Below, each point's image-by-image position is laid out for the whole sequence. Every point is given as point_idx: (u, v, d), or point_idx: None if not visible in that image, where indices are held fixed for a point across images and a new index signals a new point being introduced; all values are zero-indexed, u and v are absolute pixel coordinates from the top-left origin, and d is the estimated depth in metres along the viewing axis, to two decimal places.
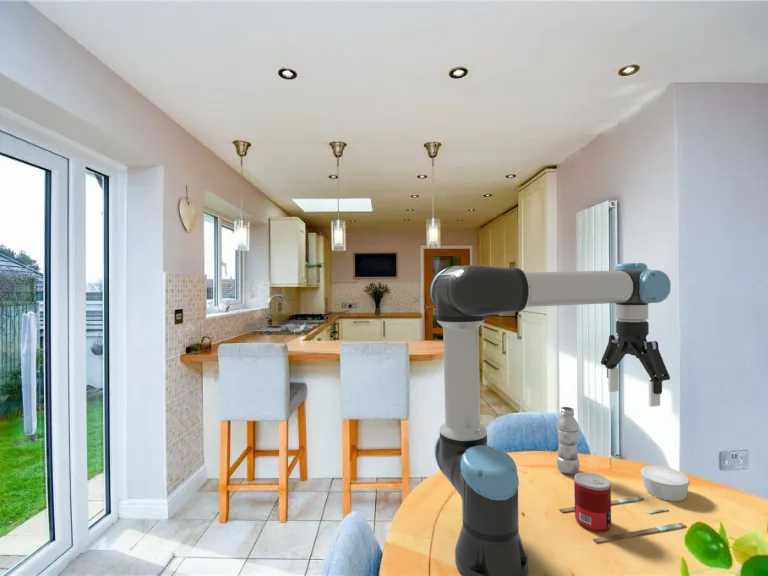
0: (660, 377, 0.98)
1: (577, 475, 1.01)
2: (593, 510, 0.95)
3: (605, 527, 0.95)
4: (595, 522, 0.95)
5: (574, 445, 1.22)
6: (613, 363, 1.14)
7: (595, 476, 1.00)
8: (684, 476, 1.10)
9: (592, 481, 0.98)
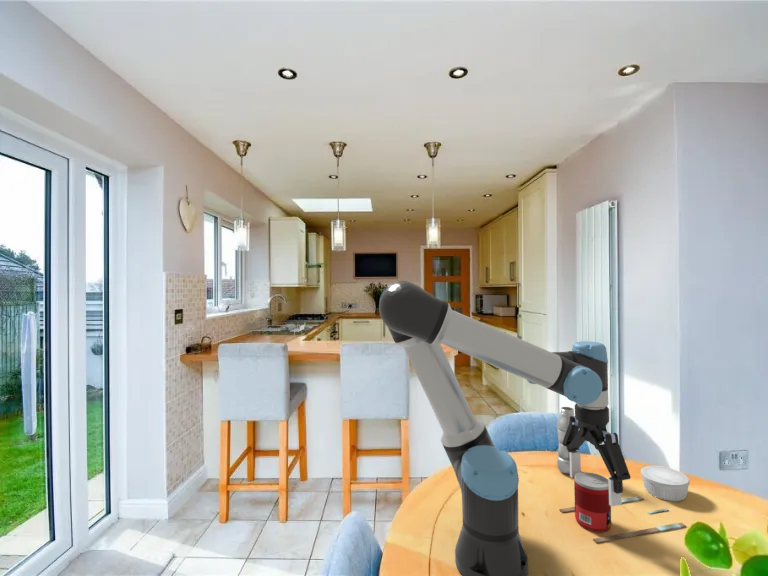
0: (619, 477, 0.89)
1: (577, 475, 1.01)
2: (593, 510, 0.95)
3: (605, 527, 0.95)
4: (595, 522, 0.95)
5: None
6: (574, 447, 1.04)
7: (595, 476, 1.00)
8: (684, 476, 1.10)
9: (592, 481, 0.98)
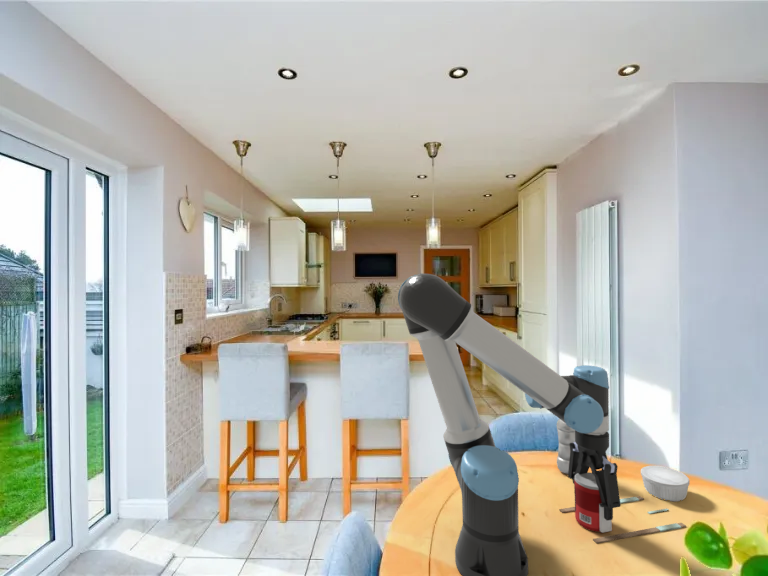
0: (610, 505, 0.91)
1: (577, 475, 1.01)
2: (593, 510, 0.95)
3: None
4: (595, 522, 0.95)
5: None
6: None
7: None
8: (684, 476, 1.10)
9: (592, 481, 0.98)
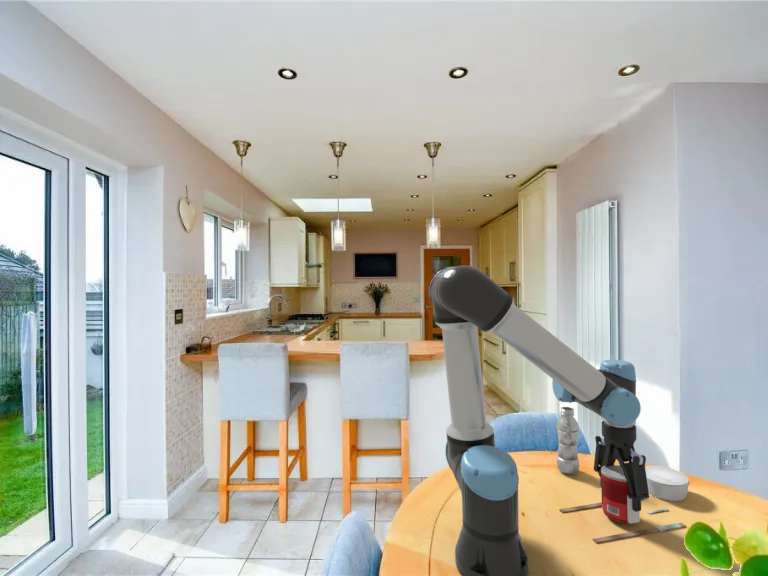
0: (639, 496, 0.93)
1: (604, 467, 1.02)
2: (621, 502, 0.97)
3: None
4: (623, 514, 0.97)
5: (574, 445, 1.22)
6: None
7: None
8: (684, 476, 1.10)
9: (619, 473, 1.00)
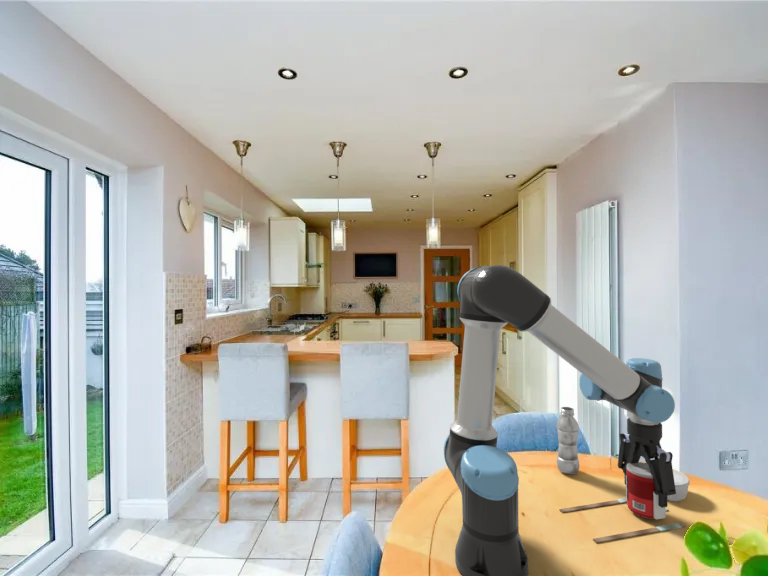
0: (666, 492, 0.94)
1: (629, 464, 1.04)
2: (647, 498, 0.98)
3: None
4: (649, 510, 0.98)
5: (574, 445, 1.22)
6: None
7: (646, 465, 1.04)
8: (684, 476, 1.10)
9: (645, 470, 1.01)
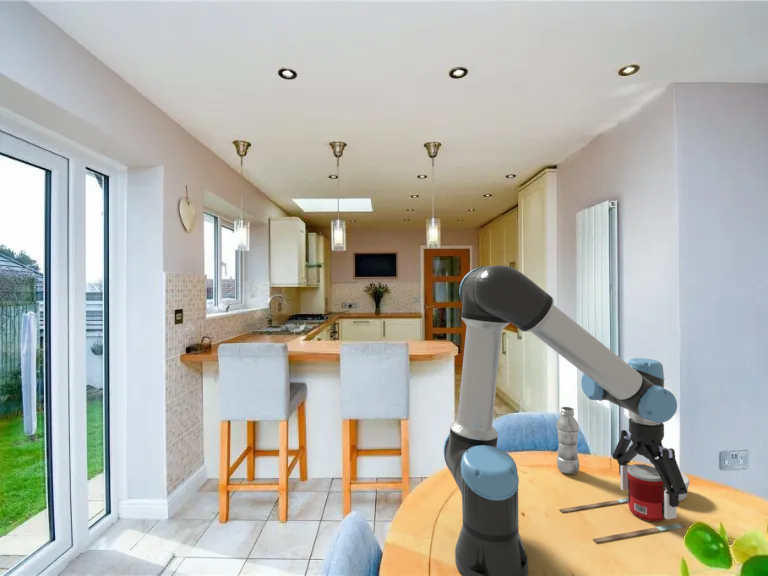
0: (677, 491, 0.92)
1: (630, 467, 1.04)
2: (649, 501, 0.98)
3: (661, 516, 0.98)
4: (651, 512, 0.98)
5: (574, 445, 1.22)
6: (626, 460, 1.07)
7: (647, 467, 1.03)
8: (684, 476, 1.10)
9: (646, 473, 1.01)
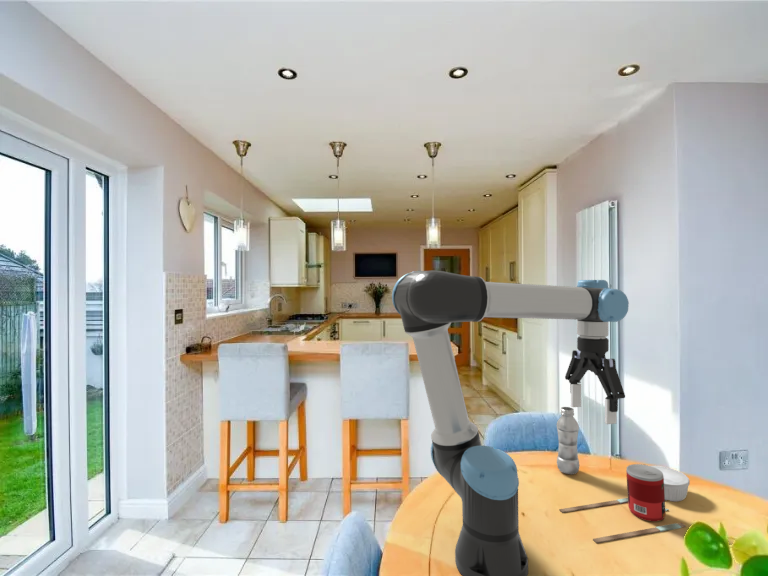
0: (615, 395, 0.98)
1: (629, 467, 1.04)
2: (648, 501, 0.98)
3: (661, 516, 0.98)
4: (650, 512, 0.98)
5: (574, 445, 1.22)
6: (576, 379, 1.13)
7: (646, 467, 1.04)
8: (684, 476, 1.10)
9: (644, 472, 1.01)
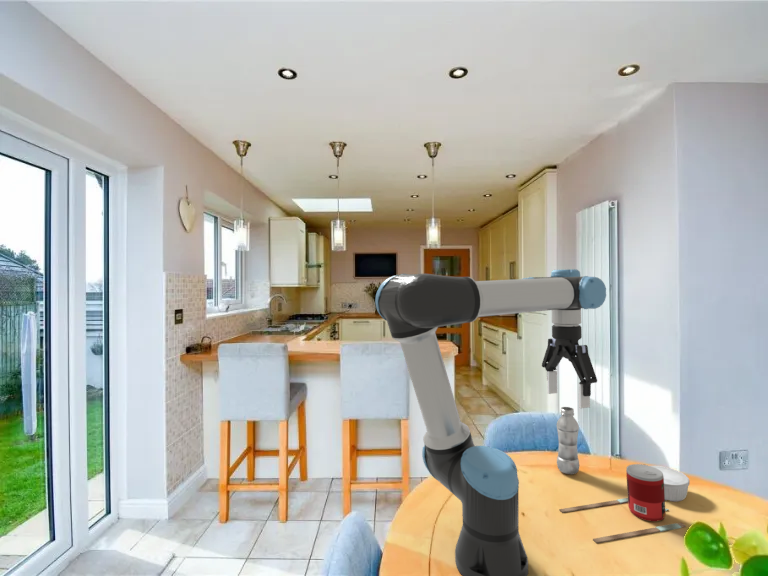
0: (587, 380, 1.01)
1: (629, 467, 1.04)
2: (648, 501, 0.98)
3: (661, 516, 0.98)
4: (650, 512, 0.98)
5: (574, 445, 1.22)
6: (552, 366, 1.17)
7: (646, 467, 1.04)
8: (684, 476, 1.10)
9: (644, 472, 1.01)
